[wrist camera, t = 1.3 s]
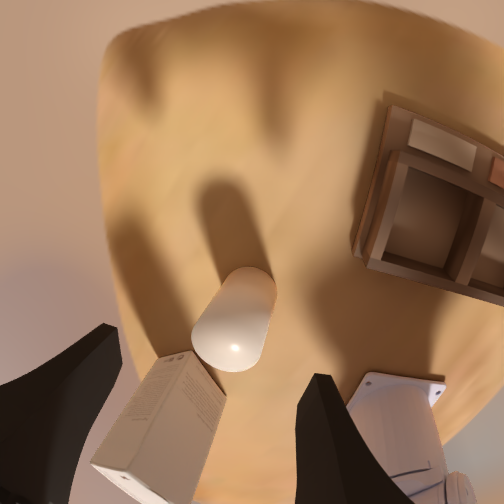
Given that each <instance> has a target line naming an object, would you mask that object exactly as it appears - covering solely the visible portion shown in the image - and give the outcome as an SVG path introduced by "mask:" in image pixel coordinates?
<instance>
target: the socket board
mask: <svg viewBox="0 0 504 504" xmlns="http://www.w3.org/2000/svg"><path fill="white" fill-rule="evenodd" d="M352 253H353V256H354V257H358V258H361V259H363V261H364V263H365V266H366V268H368V269H372V270H376V271H379V272H383V273H387V274H390V275H394V276H398V277H401V278H405V279H409V280H412V281H416V282H419V283H423V284H426V285H430V286H434V287H437V288H441V289H444V290H448V291H451V292H455V293H458V294H462V295H465V296H469V297H472V298H476V299H479V300H483V301H486V302H490V303H493V304H496V305H500V306H503V307H504V156H502V155H501V154H499V153H497V152H495V151H494V150H492V149H490V148H488V147H487V146H485V145H483V144H481V143H479V142H477V141H475V140H473V139H471V138H470V137H468V136H466V135H464V134H462V133H459V132H457V131H455V130H453V129H451V128H449V127H447V126H445V125H442V124H440V123H438V122H436V121H433V120H431V119H428V118H426V117H424V116H421V115H419V114H416V113H414V112H411V111H408V110H406V109H403V108H400V107H398V106H395V105H391V106H389V107H388V111H387V116H386V121H385V126H384V131H383V136H382V140H381V145H380V149H379V154H378V158H377V162H376V166H375V170H374V174H373V178H372V182H371V186H370V190H369V193H368V197H367V201H366V204H365V208H364V211H363V215H362V218H361V222H360V225H359V228H358V232H357V235H356V238H355V241H354V245H353V248H352Z"/></svg>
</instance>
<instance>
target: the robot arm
mask: <svg viewBox="0 0 504 504" xmlns="http://www.w3.org/2000/svg"><path fill="white" fill-rule="evenodd" d="M121 367H122V357H121V351H120V344H119V337H118V329H117V327H114V326H111V325H108V324H105V323H103V324H101V325H100V326H98V327H97V328H95V329H94V330H92V331H91V332H90V333H89V334H87V335H86V336H84V337H83V338H81V339H80V340H79V341H77V342H76V343H74V344H73V345H71V346H70V347H69V348H67V349H66V350H64V351H63V352H62V353H60V354H58V355H57V356H55V357H54V358H52V359H51V360H49V361H48V362H46V363H44V364H43V365H41V366H39V367H38V368H36V369H34V370H32V371H31V372H29V373H27V374H25V375H23V376H21V377H19V378H17V379H15V380H13V381H10V382H8V383H6V384H3V385H1V386H0V504H68V502H69V496H70V491H71V486H72V482H73V478H74V474H75V471H76V467H77V464H78V461H79V458H80V454H81V452H82V449H83V446H84V443H85V441H86V438H87V436H88V433H89V431H90V429H91V427H92V425H93V423H94V421H95V419H96V418H97V416H98V414H99V412H100V410H101V409H102V407H103V405H104V403H105V401H106V399H107V397H108V395H109V394H110V392H111V390H112V388H113V387H114V384H115V382H116V379H117V377H118V374H119V372H120V369H121ZM366 382H369V383H366ZM445 389H446V384H445V382H439V381H431V380H423V379H416V378H408V377H402V376H395V375H389V374H383V373H377V372H369V373H367V374H366V375H365V376H364V378H363V380H362V381H361V383H360V385H359V386H358V388H357V390H356V391H355V393H354V395H353V396H352V398H351V400H350V401H349V403H348V404H347V406H345V404H344V402H343V400H342V398H341V396H340V393H339V391H338V389H337V387H336V385H335V383H334V380H333V378H332V377H331V375H326V374H318V373H314V375H313V377H312V379H311V381H310V383H309V385H308V386H307V388H306V390H305V392H304V394H303V396H302V397H301V399H300V401H299V403H298V404H297V415H296V427H295V433H296V464H297V489H296V498H295V504H477V501H476V497H475V494H474V490H473V487H472V485H471V482H470V480H469V478H468V477H467V476H466V474H462V473H459V472H458V471H455V472H452V473H451V474H449V473H448V470H447V465H446V461H445V457H444V452H443V448H442V445H441V441H440V437H439V433H438V430H437V426H436V423H435V419H434V416H433V413H432V409H431V407H432V406H433V405H434V403H435V402H436V401H437V399H438V398H439V397H440V395H441V394H442V393H443V391H444V390H445ZM437 391H438V392H437Z"/></svg>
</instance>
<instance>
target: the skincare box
mask: <svg viewBox="0 0 504 504" xmlns="http://www.w3.org/2000/svg"><path fill="white" fill-rule="evenodd" d="M226 400H227V398H226V396H225V395H224V394H223V393H222V391H221V390H220V389H219V387H218V386H217V385H216V383H215V382H214V381H213V379H212V378H211V377H210V375H209V374H208V372H207V371H206V370H205V368H204V367H203V365H202V364H201V363H200V361H199V360H198V358H197V357H196V355H195V354H194V353H193V351H186V352H181V353H177V354H173V355H169V356H165V357H161V358H159V359H157V360H156V361H155V363H154V365H153V366H152V368H151V369H150V371H149V372H148V374H147V375H146V376H145V378H144V379H143V381H142V382H141V384H140V386H139V387H138V389H137V390H136V392H135V393H134V395H133V396H132V397H131V399H130V401H129V402H128V404H127V405H126V407H125V408H124V410H123V411H122V413H121V414H120V416H119V417H118V419H117V420H116V422H115V423H114V425H113V426H112V428H111V430H110V431H109V432H108V434H107V436H106V438H105V439H104V440H103V442H102V444H101V445H100V447H99V448H98V450H97V451H96V453H95V454H94V456H93V457H92V459H91V461H90V464H91V465H92V466H93V467H95V468H96V469H97V470H98V471H99V472H100V473H102V474H103V475H104V476H105V477H106V478H108V479H109V480H110V481H112V482H113V483H114V484H115V485H117V486H118V487H119V488H120V489H122V490H123V491H125V492H126V493H127V494H129V495H130V496H131V497H133V498H134V499H136V500H138V501H139V502H140V503H141V504H191V502H192V499H193V496H194V493H195V491H196V488H197V485H198V482H199V479H200V476H201V473H202V471H203V468H204V465H205V462H206V459H207V456H208V453H209V450H210V447H211V445H212V442H213V439H214V436H215V433H216V430H217V427H218V424H219V421H220V418H221V415H222V412H223V409H224V406H225V403H226Z"/></svg>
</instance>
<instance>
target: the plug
mask: <svg viewBox="0 0 504 504" xmlns="http://www.w3.org/2000/svg"><path fill="white" fill-rule="evenodd" d="M276 299H277V288H276V285H275V282H274V281H273V279H272V278H271V277H270V276H269V275H268V274H267V273H266V272H264V271H263V270H261V269H258V268H255V267H241V268H238V269H236V270H234V271H232V272H231V273H230V274H229V275H228V277H227V278H226V280H225V281H224V283H223V284H222V286H221V287H220V289H219V290H218V291H217V293H216V294H215V296H214V297H213V299H212V300H211V302H210V303H209V305H208V306H207V308H206V309H205V311H204V312H203V314H202V315H201V317H200V318H199V319H198V321H197V322H196V324H195V326H194V327H193V330H192V334H191V339H192V344H193V347H194V349H195V351H196V352H197V354H198V355H199V356H200V357H201V359H203V360H204V361H205V362H206V363H208V364H209V365H211V366H212V367H214V368H217V369H219V370H223V371H228V372H240V371H244V370H247V369H249V368H251V367H252V366H254V365H255V364H256V363H257V362H258V360H259V358H260V356H261V352H262V349H263V345H264V342H265V338H266V335H267V331H268V328H269V324H270V321H271V317H272V313H273V310H274V306H275V302H276Z"/></svg>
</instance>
